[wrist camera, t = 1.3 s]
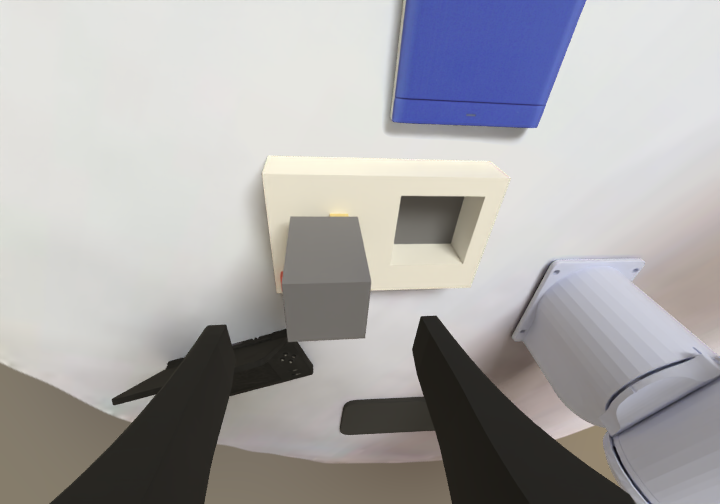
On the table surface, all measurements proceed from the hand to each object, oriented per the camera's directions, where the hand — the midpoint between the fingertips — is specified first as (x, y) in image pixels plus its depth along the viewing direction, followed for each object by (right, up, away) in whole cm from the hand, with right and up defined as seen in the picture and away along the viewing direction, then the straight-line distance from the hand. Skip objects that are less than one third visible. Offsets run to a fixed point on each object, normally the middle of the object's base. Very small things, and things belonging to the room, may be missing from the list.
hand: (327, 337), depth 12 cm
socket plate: (+2, +5, +9) cm, 10 cm away
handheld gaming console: (-9, -5, +15) cm, 19 cm away
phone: (+6, -15, +25) cm, 30 cm away
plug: (-1, +4, +6) cm, 7 cm away
